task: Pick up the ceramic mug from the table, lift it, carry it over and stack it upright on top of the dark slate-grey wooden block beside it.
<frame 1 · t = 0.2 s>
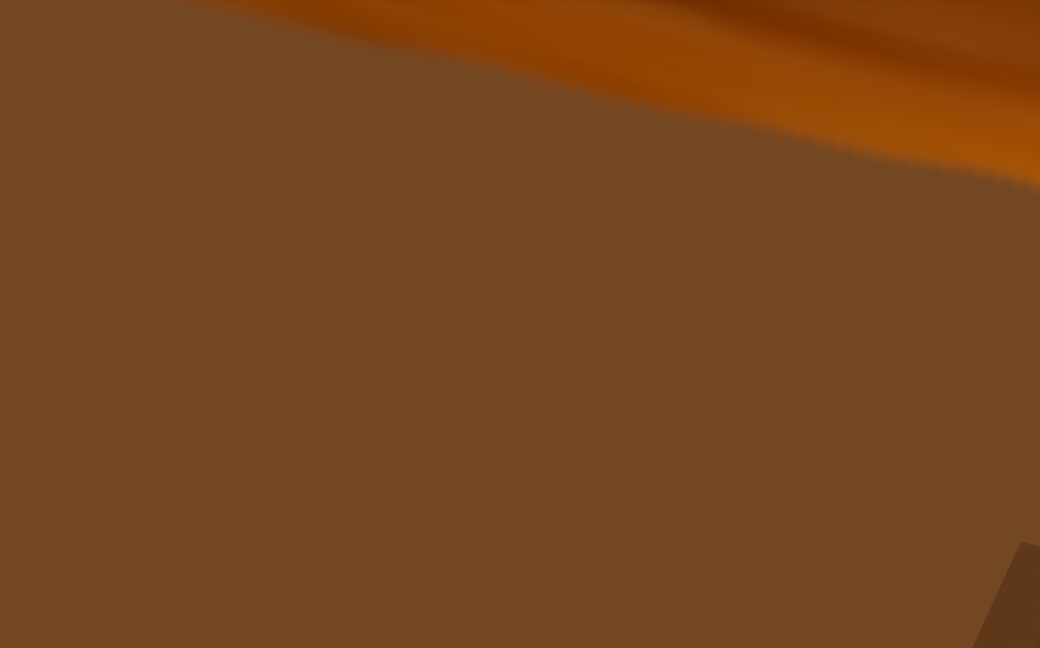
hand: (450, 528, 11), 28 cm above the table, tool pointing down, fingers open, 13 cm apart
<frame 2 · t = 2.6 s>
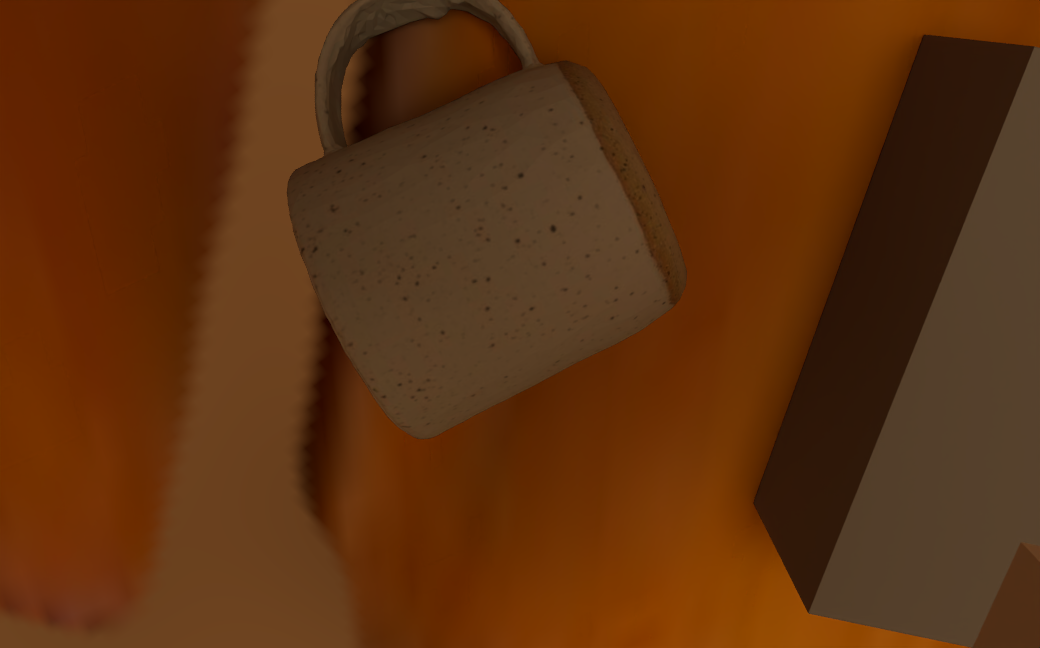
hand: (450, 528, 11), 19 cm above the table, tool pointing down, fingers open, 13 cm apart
ceramic mug: (464, 174, 29), on the table
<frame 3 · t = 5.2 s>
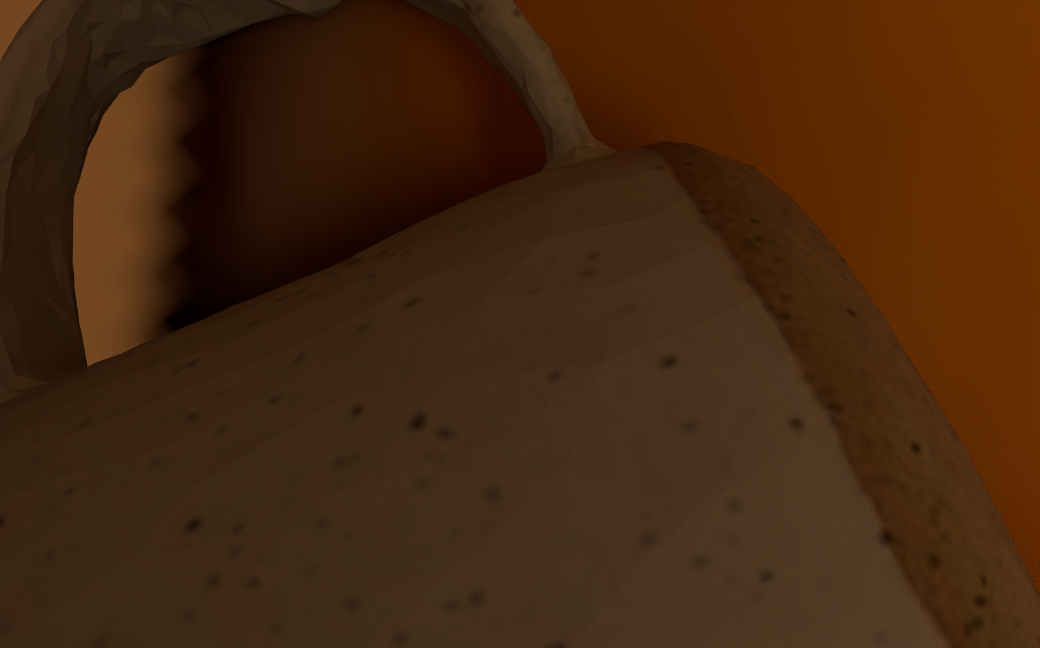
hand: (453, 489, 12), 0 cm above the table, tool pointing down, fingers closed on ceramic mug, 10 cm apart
ceramic mug: (405, 381, 12), on the table, touching gripper
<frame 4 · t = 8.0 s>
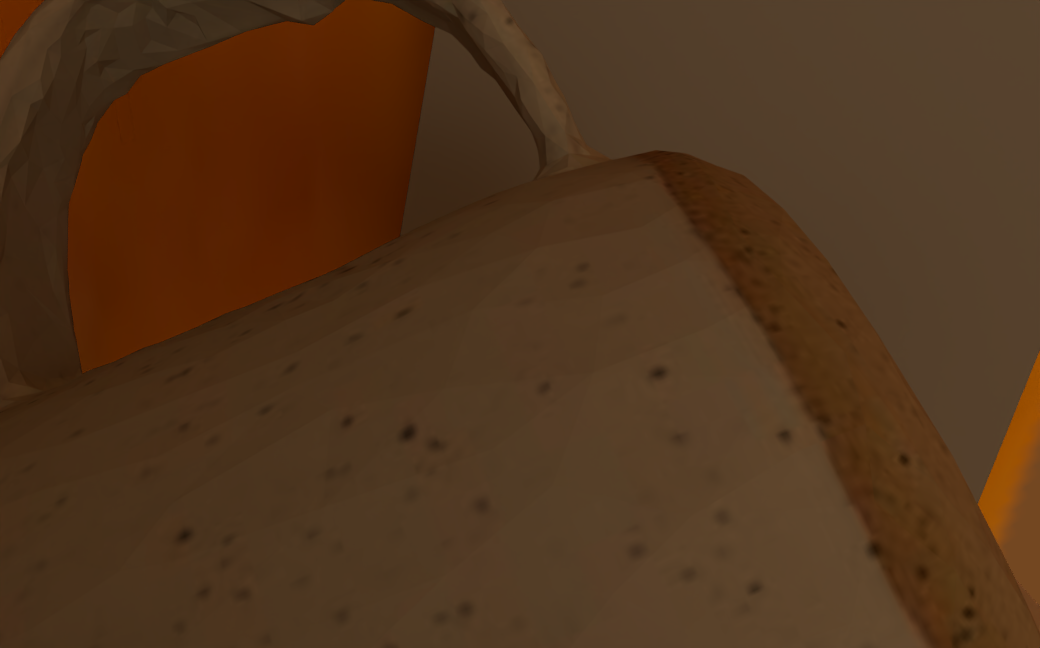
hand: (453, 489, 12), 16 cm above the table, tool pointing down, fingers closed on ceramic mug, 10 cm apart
ceramic mug: (400, 386, 12), point 16 cm above the table, touching gripper
slate block: (687, 206, 28), on the table
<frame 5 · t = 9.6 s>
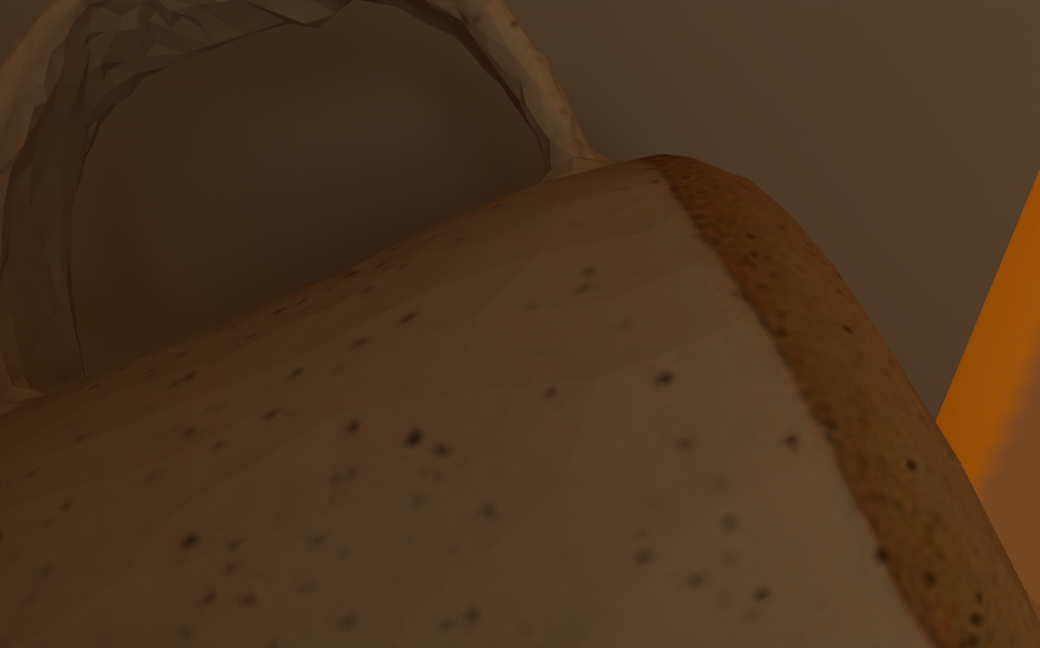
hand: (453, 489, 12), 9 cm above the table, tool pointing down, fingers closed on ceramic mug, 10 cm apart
ceramic mug: (403, 389, 12), point 9 cm above the table, touching gripper
slate block: (468, 272, 21), on the table
when the fingers open (8 cm above the table, at t = 10.9 s): ceramic mug drops 1 cm, resting on slate block.
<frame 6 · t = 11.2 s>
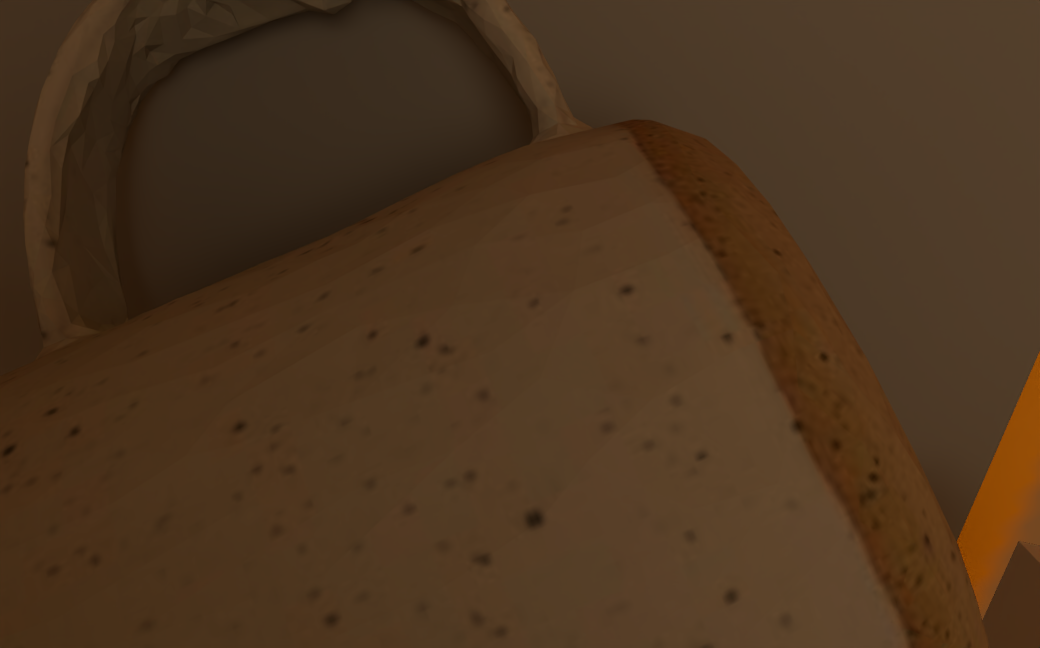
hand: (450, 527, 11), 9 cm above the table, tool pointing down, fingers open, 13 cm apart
ceramic mug: (409, 342, 14), point 6 cm above the table, touching slate block
slate block: (469, 301, 20), on the table
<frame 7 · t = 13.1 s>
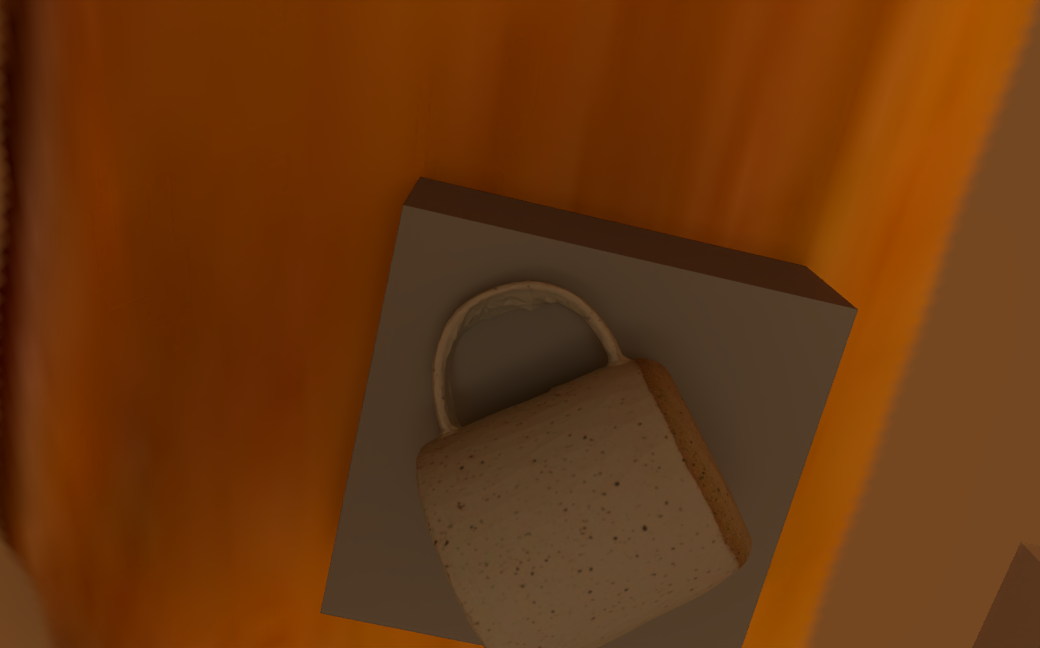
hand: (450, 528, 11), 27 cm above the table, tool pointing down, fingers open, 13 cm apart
ceramic mug: (552, 425, 34), point 6 cm above the table, touching slate block
slate block: (567, 403, 40), on the table
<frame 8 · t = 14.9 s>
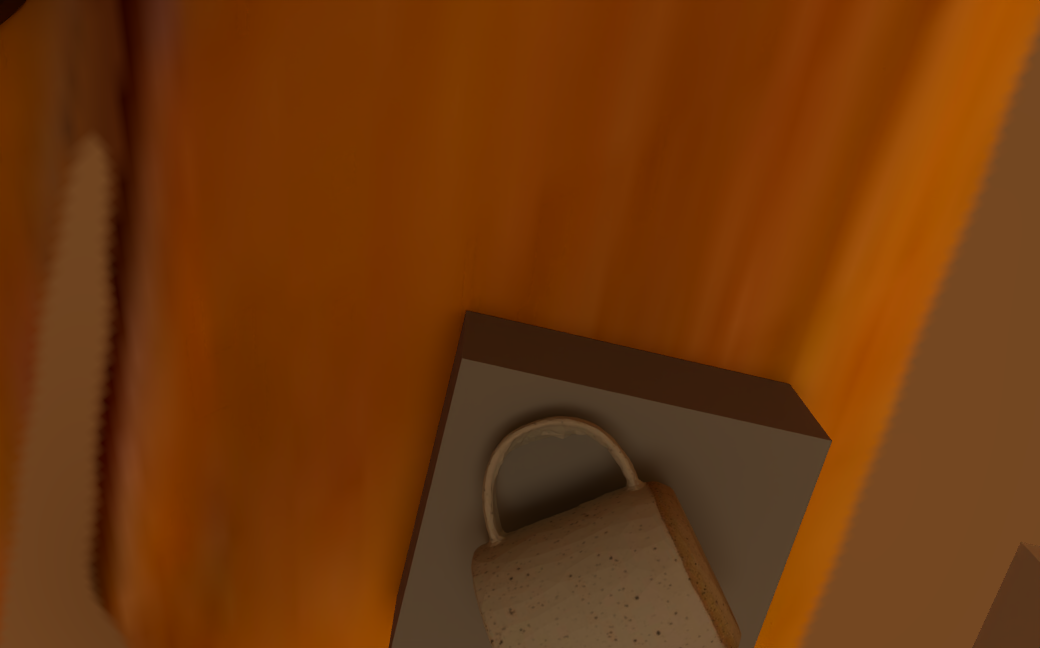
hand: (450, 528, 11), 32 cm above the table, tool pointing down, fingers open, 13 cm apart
ceramic mug: (577, 524, 41), point 6 cm above the table, touching slate block
slate block: (586, 494, 47), on the table
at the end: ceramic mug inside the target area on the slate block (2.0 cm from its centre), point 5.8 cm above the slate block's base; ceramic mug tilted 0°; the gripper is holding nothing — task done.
